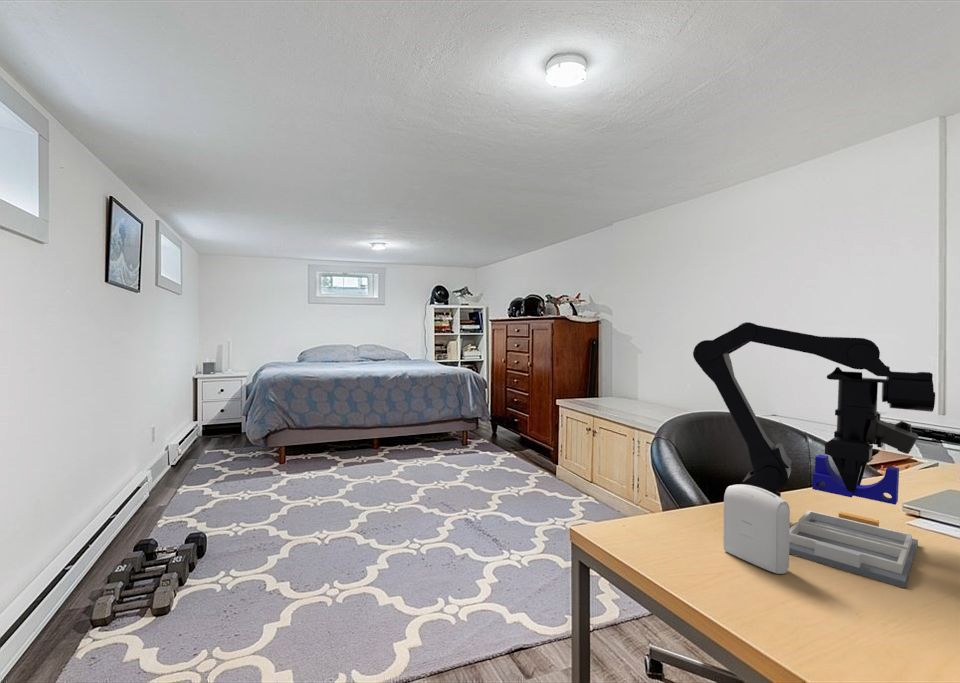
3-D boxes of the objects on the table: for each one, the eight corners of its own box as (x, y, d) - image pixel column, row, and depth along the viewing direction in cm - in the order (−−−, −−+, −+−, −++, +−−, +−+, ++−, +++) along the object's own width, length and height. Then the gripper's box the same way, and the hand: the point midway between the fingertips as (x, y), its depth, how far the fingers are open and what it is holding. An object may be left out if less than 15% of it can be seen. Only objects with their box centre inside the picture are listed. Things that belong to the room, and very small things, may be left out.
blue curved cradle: (812, 489, 91) (813, 458, 91) (817, 484, 94) (819, 454, 94) (894, 506, 83) (896, 472, 83) (897, 501, 86) (899, 467, 86)
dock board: (905, 588, 72) (905, 568, 72) (776, 550, 84) (777, 533, 84) (917, 545, 87) (918, 529, 87) (807, 518, 99) (807, 503, 99)
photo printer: (718, 550, 84) (720, 480, 84) (734, 545, 86) (736, 477, 85) (776, 577, 74) (779, 499, 74) (793, 572, 76) (795, 495, 76)
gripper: (910, 417, 76) (906, 513, 76) (920, 406, 89) (916, 489, 89) (825, 407, 84) (822, 495, 84) (845, 399, 97) (843, 475, 97)
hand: (853, 488), depth 89 cm, fingers closed on blue curved cradle, 4 cm apart
